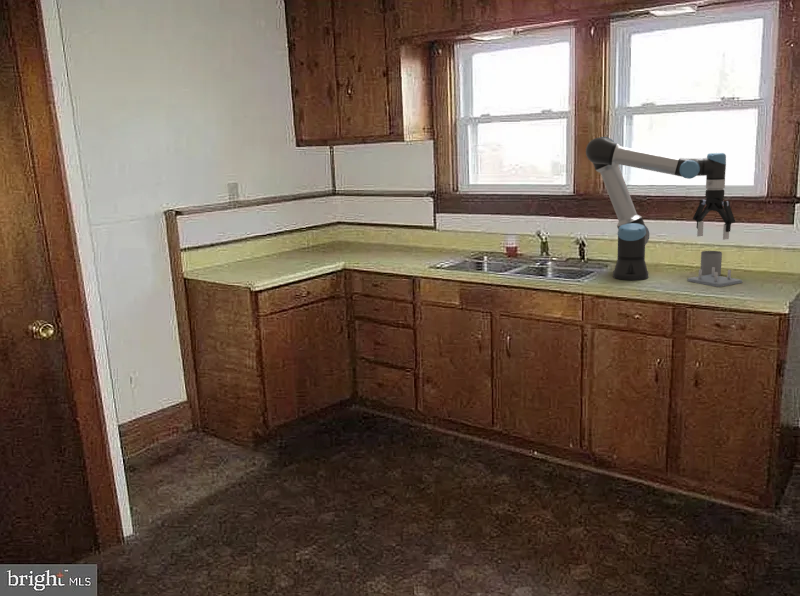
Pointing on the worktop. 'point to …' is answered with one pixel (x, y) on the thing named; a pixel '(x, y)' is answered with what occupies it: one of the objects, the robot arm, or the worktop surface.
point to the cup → (711, 262)
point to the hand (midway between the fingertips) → (712, 237)
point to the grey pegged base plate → (714, 279)
